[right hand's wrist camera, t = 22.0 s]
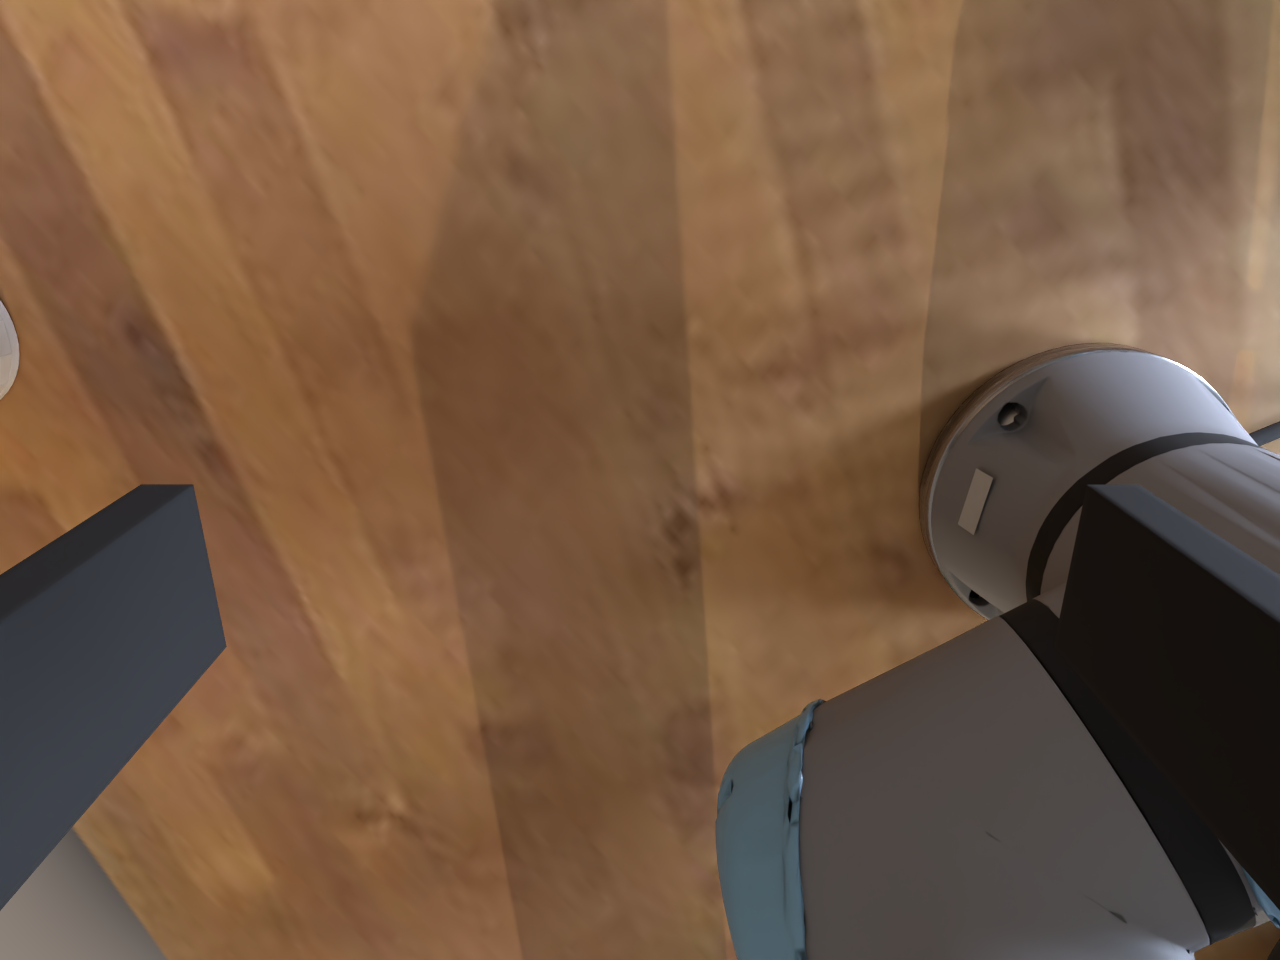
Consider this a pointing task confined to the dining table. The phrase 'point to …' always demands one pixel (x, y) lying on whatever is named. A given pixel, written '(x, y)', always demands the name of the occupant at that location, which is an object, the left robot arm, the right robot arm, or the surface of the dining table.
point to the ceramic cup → (7, 351)
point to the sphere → (1275, 952)
